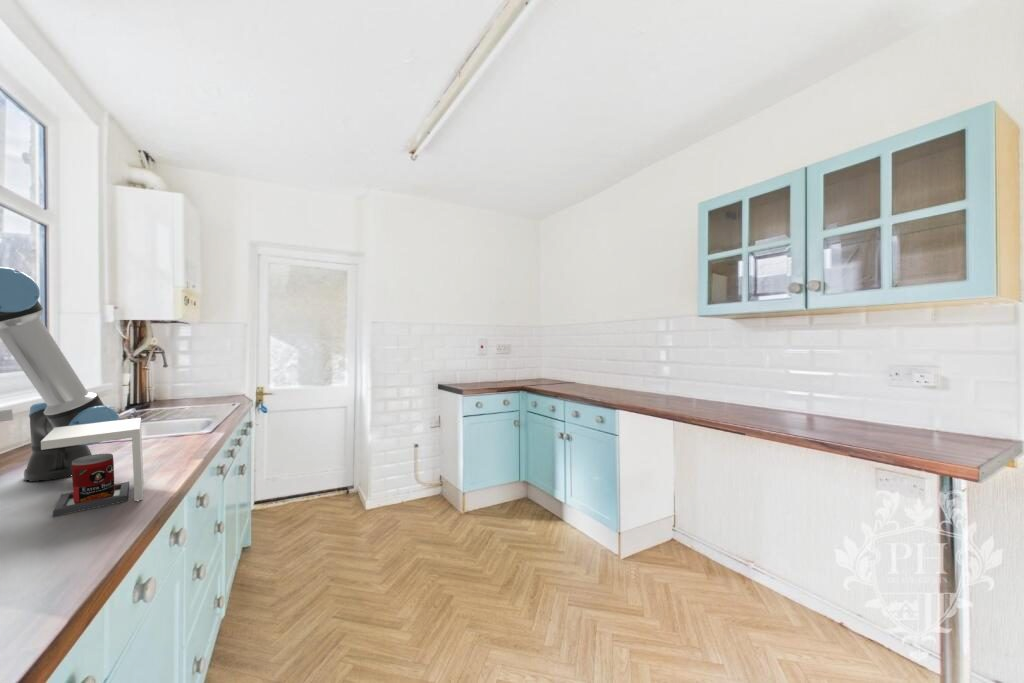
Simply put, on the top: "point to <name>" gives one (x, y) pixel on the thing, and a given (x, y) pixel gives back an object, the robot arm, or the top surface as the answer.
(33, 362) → the robot arm
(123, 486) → the grey picture frame
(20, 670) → the top surface
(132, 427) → the shelf
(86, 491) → the canned food
